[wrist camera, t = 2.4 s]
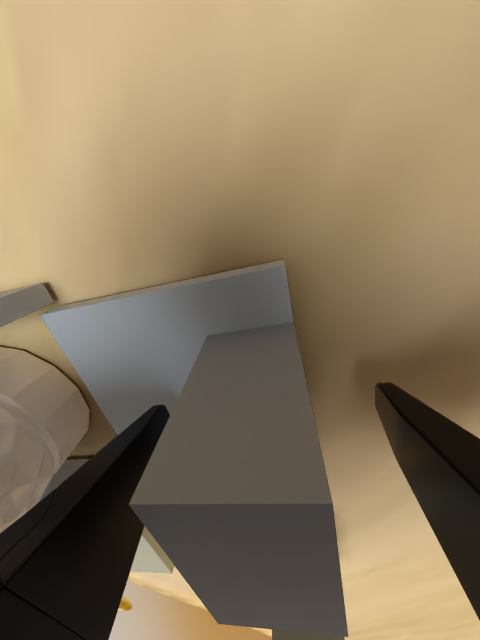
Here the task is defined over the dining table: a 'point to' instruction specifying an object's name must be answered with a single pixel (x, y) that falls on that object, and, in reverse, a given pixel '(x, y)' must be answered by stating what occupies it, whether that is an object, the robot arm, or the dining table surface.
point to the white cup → (34, 429)
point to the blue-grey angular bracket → (215, 437)
